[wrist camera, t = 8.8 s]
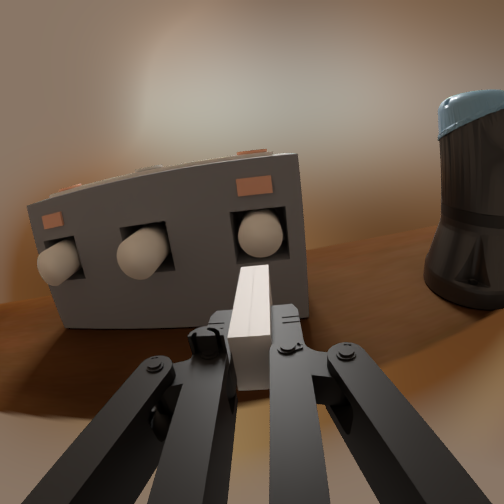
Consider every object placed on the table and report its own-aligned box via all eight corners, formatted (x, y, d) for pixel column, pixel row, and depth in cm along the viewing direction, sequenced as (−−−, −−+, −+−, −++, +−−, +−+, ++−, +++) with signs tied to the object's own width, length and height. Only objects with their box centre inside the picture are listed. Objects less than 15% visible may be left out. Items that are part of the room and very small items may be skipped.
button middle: (177, 256, 31) (169, 219, 29) (161, 278, 25) (151, 234, 24) (143, 260, 31) (135, 224, 30) (123, 281, 26) (112, 240, 24)
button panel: (299, 280, 38) (287, 147, 33) (309, 318, 29) (297, 145, 24) (94, 296, 40) (66, 187, 35) (63, 328, 31) (24, 200, 26)
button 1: (92, 265, 31) (84, 233, 30) (68, 285, 26) (57, 248, 25) (68, 268, 32) (60, 237, 30) (44, 287, 26) (33, 252, 25)
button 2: (280, 237, 32) (277, 201, 31) (284, 255, 27) (280, 212, 26) (244, 241, 33) (239, 206, 31) (241, 259, 27) (235, 217, 26)
